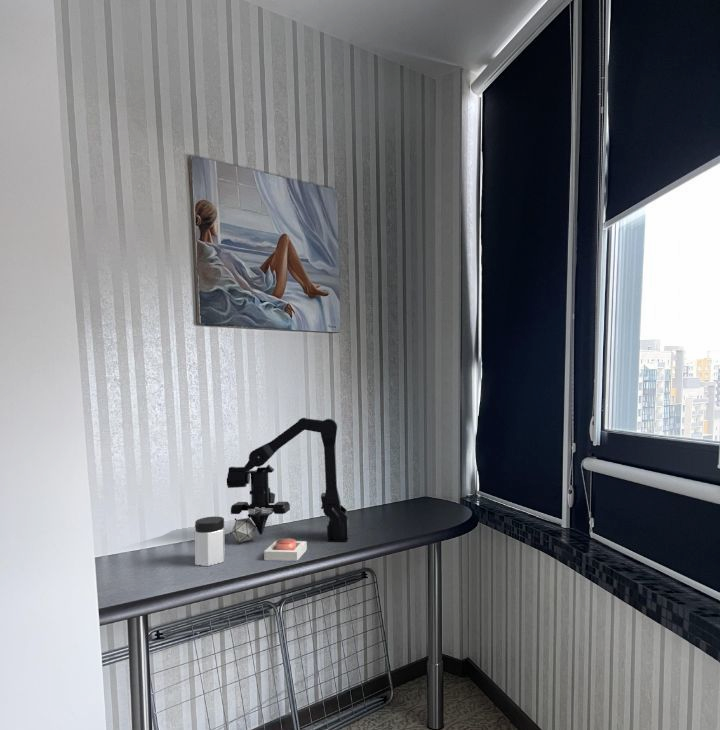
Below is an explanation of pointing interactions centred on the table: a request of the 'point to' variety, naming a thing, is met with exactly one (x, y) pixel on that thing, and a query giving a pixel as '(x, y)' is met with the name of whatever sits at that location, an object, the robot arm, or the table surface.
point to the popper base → (285, 552)
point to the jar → (209, 541)
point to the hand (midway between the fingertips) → (261, 534)
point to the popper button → (286, 544)
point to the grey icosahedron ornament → (243, 530)
